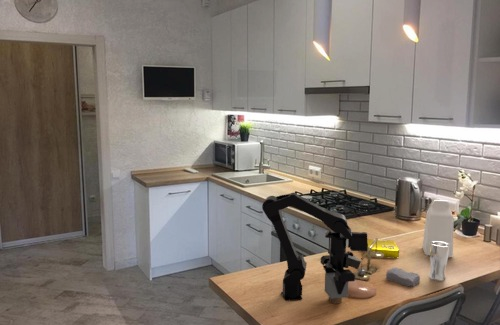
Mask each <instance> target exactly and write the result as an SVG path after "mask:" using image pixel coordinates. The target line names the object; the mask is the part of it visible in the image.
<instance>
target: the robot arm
mask: <svg viewBox="0 0 500 325" xmlns="http://www.w3.org/2000/svg"><path fill="white" fill-rule="evenodd" d="M292 206H293V207H295V208H297V209H299V210H300V211H302V212H305V213H307V214H308V215H310V216H312V217H314V218H315V219H317V220H319V221H321V222H322V224H324V225H325V226H327V228H329V230H328V231H327V232H326V233H324V234H325V237H324V238H327V239H329V249H327V254H328V255H327V254H326V255H322V256H321V257H320V260H319V261H320V264H321V265H322V267H323V271H324V272H325V273H334V272H335V277H333V279H334V282H335V285H336V289H337V292H338V294H341V293H342V291H343V288H344V286H345V284H346V282H349V281H355V280H356V279H355V275H354V274H353V273H354V272H352V271H351V270H350V268H353V269H355V270H358V269H360V266H361V262H362V260H361V259H359V258H358V257H356V256H355V255H354V253H353V252H363V253H365V252H367V250H368V243H367V239H368V232H363V231H362V232H359V231H357V232H356V231H355V232H354V231H352V229H351V227H350V226H349V224H348V220H347V217H346V216H345V215H344V214H342V213H339V212H336V211H334V210H333V211H331V210H329V209H326V208H323V207H321V206H320V205H318V204H316V203H314V202H312V201H311V200H309V199H306V198H305V197H302V196H301V195H299V194H298V193H296V192H291V193H288V194H287V193H285V194H281V195H279V196H278V195H276V196H275V195H269V196H268V197H266V199H264V201H263V203H262V205H261V209H262V210H263V212H264V214H265V217H266V218H267V219H268V220H269V221H270V222H271V224H272V226H273V228H274V230H275V233H276V236H277V238H278V240H279V242H280V246H281V247H282V250H283V253H284V255H285V258H286V265H287V269H286V270H285V272H284V274H283V275H284V276H283V278H282V291H281V293H280V294H281V295H282V297H283V299H284V300H285V301H296V300H297V301H298V300H303V297H302V296H303V284H302V280H303V279H304V278H305V276H306V269H307V262H306V260H305V258H304V254H299V253H298V252H297V249H296V248H295V245H294V243H293V241H292V237H291V235H290V234H289V231H288V228H287V226H286V223H285V221H284V219H283V211H282V210H284V209H286V208H288V207H292ZM347 248H348V249H349V250H348V251H347ZM349 267H350V268H349Z"/></svg>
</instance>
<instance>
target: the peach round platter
mask: <svg viewBox="0 0 500 325" xmlns="http://www.w3.org/2000/svg"><path fill="white" fill-rule="evenodd" d="M376 294H377V287H376V286H375V284H372V283H371V282H368V281H366V280H358V279H355V281H349V282H348V297H350V298H354V299H369V298H373V297H374V296H375V295H376Z"/></svg>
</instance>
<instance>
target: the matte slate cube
mask: <svg viewBox="0 0 500 325" xmlns="http://www.w3.org/2000/svg"><path fill="white" fill-rule="evenodd" d="M324 275H325V276H324V293H326V295H327V296H328V298H329V297H330V298H331V299H333V298H342V299H343V298H348V297H349V296H348V282H346V284H345V286H344V288H343V291H342V293H341V294H338V292H337V289H336V285H335V282H334V279H333V277H335V272H334V273H326V272H325V274H324Z"/></svg>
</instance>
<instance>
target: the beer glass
mask: <svg viewBox="0 0 500 325" xmlns="http://www.w3.org/2000/svg"><path fill="white" fill-rule="evenodd" d="M448 259H449V257H448V244H447V243H444V242H440V241H434V242H431V248H430V256H429V260H430V262H429V263H430V272H429V275H428V276H429V279H430V280H432V281H435V280H436V281H435V282H444V281H445V280H446V275H445V274H446V272H445V271H446V268H447V263H448Z"/></svg>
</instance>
